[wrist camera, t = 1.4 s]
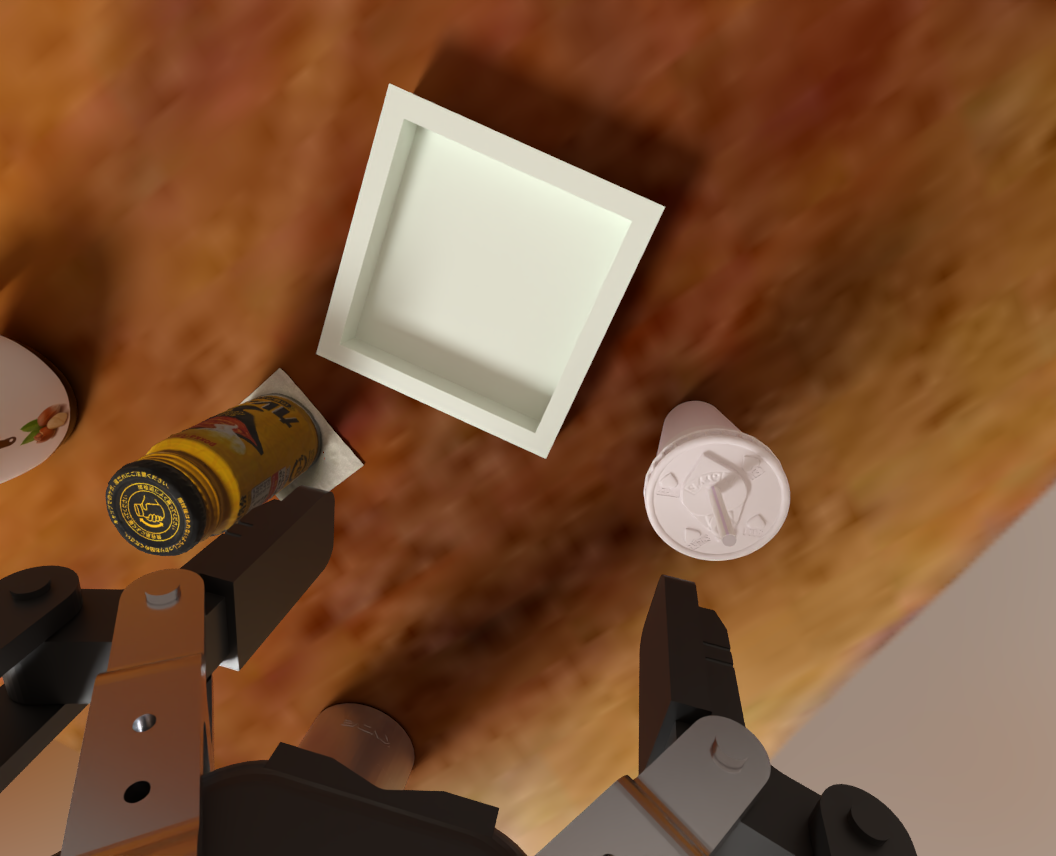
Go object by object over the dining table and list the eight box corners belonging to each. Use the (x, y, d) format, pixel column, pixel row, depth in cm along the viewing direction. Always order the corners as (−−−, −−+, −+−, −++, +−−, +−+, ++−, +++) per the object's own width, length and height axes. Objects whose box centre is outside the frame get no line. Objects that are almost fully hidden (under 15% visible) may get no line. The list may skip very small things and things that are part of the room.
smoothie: (736, 365, 33) (806, 457, 20) (759, 464, 35) (837, 609, 22) (628, 394, 35) (627, 497, 22) (655, 488, 36) (669, 634, 23)
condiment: (281, 366, 38) (137, 425, 27) (365, 464, 39) (260, 558, 28) (216, 425, 40) (58, 502, 29) (297, 515, 42) (176, 621, 31)
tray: (552, 440, 36) (545, 458, 34) (340, 344, 37) (316, 353, 34) (662, 208, 31) (665, 206, 28) (410, 95, 31) (389, 83, 28)
